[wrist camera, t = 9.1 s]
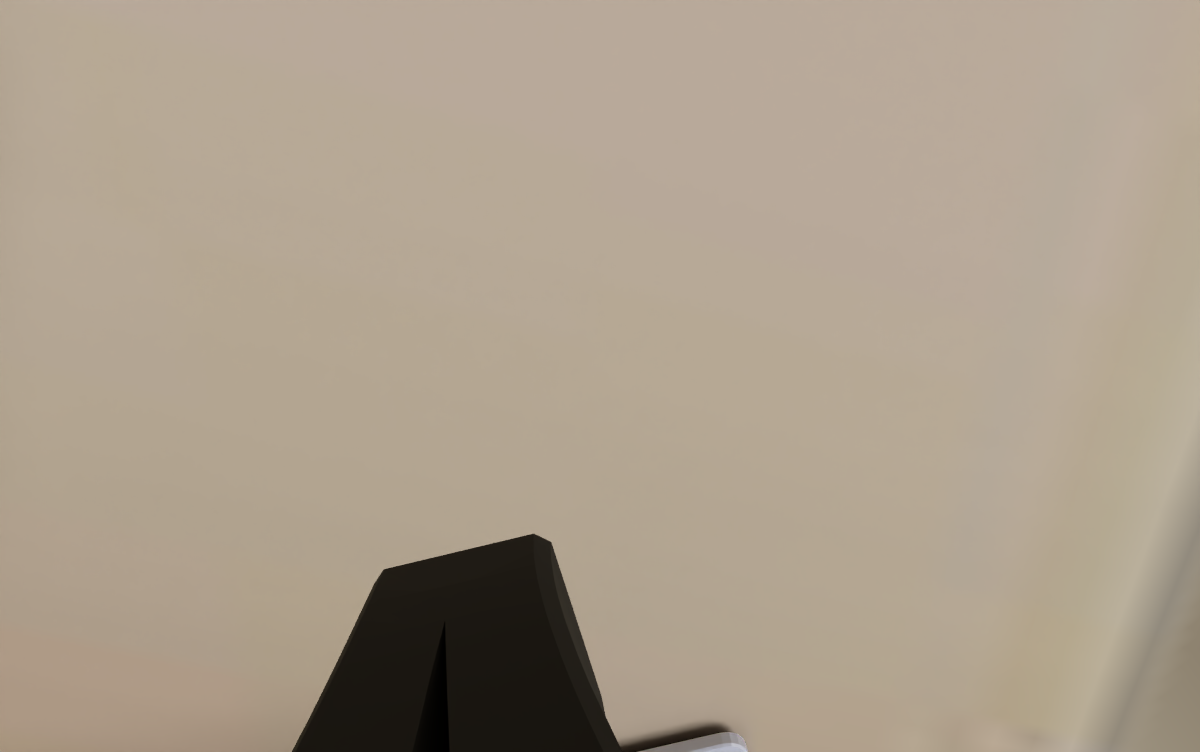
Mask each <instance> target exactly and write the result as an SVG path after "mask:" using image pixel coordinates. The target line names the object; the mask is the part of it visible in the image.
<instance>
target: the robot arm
mask: <svg viewBox="0 0 1200 752" xmlns="http://www.w3.org/2000/svg"><path fill="white" fill-rule="evenodd" d="M292 752H622V750H621V748H620V746H619V744H618V742H617V740H616V738H615V736H614V733H613V731H612V729H611V727H610V725H609V723H608V721H607V719H606V717H605V712H604V707H603V702H602V697H601V694H600V691H599V688H598V684H597V681H596V678H595V675H594V672H593V669H592V666H591V663H590V660H589V657H588V654H587V651H586V648H585V645H584V642H583V638H582V635H581V632H580V629H579V626H578V623H577V620H576V617H575V614H574V611H573V608H572V605H571V602H570V599H569V596H568V592H567V589H566V586H565V583H564V580H563V577H562V574H561V571H560V568H559V565H558V562H557V559H556V556H555V553H554V549H553V546H552V543H551V542H550V541H548V540H546V539H544V538H542V537H540V536H537V535H535V534H531V535H526V536H522V537H518V538H514V539H510V540H505V541H501V542H497V543H493V544H489V545H485V546H480V547H476V548H472V549H468V550H464V551H459V552H455V553H451V554H447V555H443V556H438V557H434V558H430V559H426V560H422V561H417V562H413V563H409V564H405V565H401V566H396V567H392V568H388V569H384V570H383V571H382V573H381V575H380V576H379V578H378V579H377V581H376V582H375V584H374V586H373V588H372V590H371V592H370V594H369V596H368V598H367V600H366V602H365V605H364V607H363V609H362V611H361V613H360V615H359V617H358V619H357V621H356V624H355V626H354V628H353V630H352V632H351V634H350V636H349V638H348V640H347V643H346V645H345V647H344V649H343V651H342V653H341V655H340V657H339V659H338V661H337V663H336V665H335V668H334V670H333V672H332V674H331V676H330V678H329V680H328V682H327V684H326V686H325V688H324V690H323V692H322V694H321V696H320V698H319V700H318V702H317V704H316V706H315V708H314V710H313V712H312V714H311V716H310V718H309V720H308V722H307V724H306V726H305V728H304V730H303V732H302V733H301V735H300V737H299V739H298V741H297V743H296V745H295V747H294V749H293V750H292ZM638 752H748V750H747V746H746V742H745V741H744V739H743V737H741V736H740V735H738V734H736V733H731V732H721V733H716V734H712V735H708V736H703V737H699V738H695V739H690V740H686V741H682V742H677V743H673V744H669V745H664V746H660V747H656V748H651V749H647V750H642V751H638Z"/></svg>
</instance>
